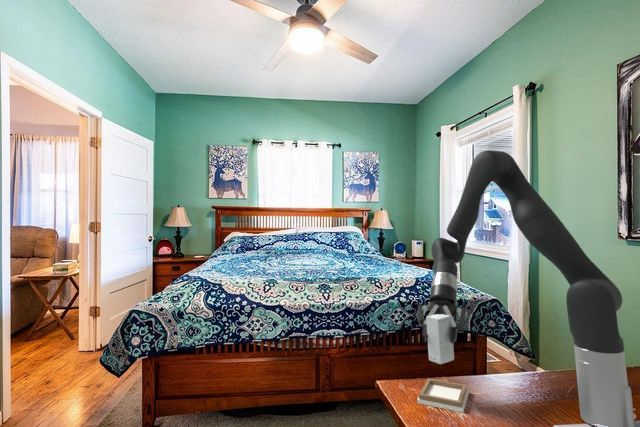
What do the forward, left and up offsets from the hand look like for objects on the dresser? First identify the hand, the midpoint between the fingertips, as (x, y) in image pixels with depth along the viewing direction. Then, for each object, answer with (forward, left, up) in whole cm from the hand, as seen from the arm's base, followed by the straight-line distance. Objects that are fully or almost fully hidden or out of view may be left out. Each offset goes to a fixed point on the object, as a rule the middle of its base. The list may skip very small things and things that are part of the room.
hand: (438, 340), depth 93 cm
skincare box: (0, -2, -6) cm, 6 cm away
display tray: (0, -2, -16) cm, 16 cm away
